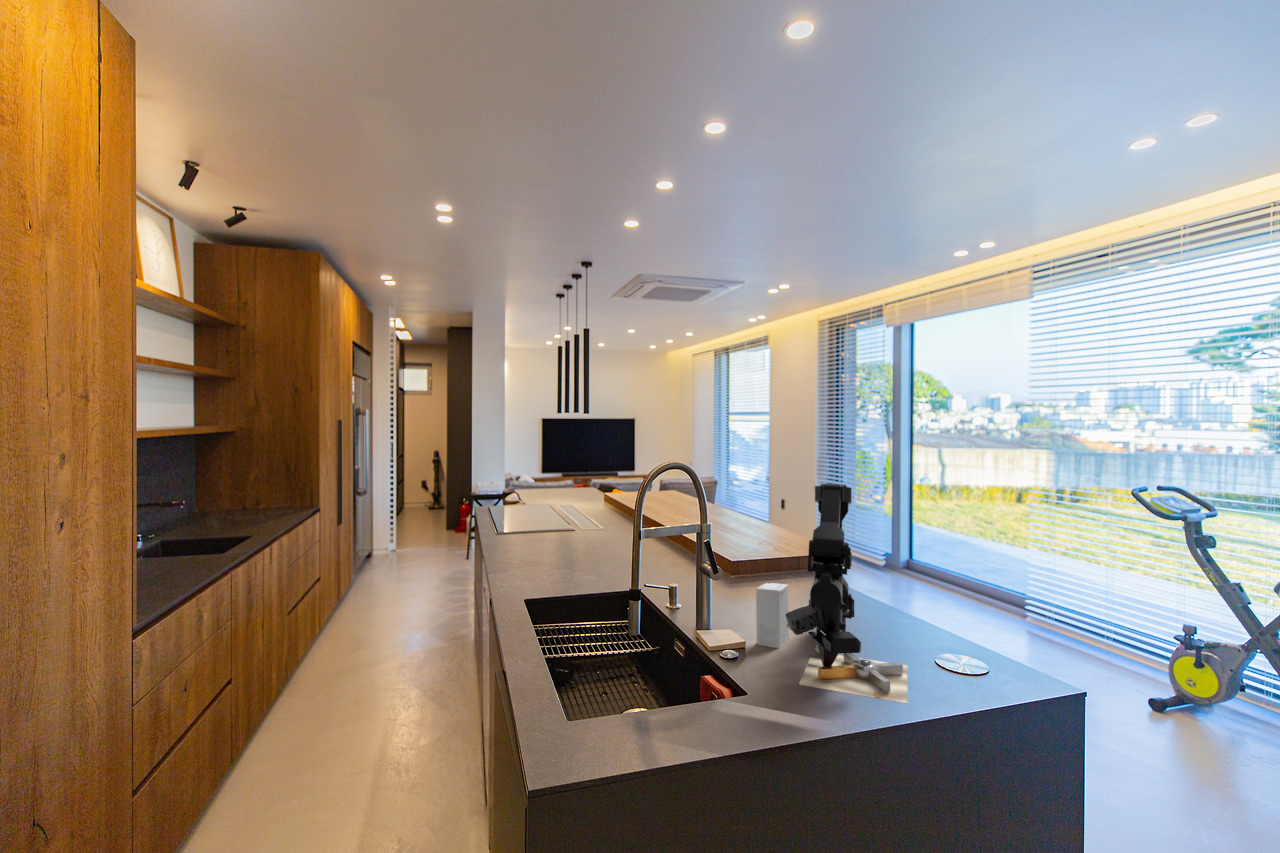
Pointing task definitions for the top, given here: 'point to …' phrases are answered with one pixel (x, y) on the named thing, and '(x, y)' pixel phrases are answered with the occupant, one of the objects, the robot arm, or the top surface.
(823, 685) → the board with rotating cross
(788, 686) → the top surface
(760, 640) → the skincare box
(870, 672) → the capstan
